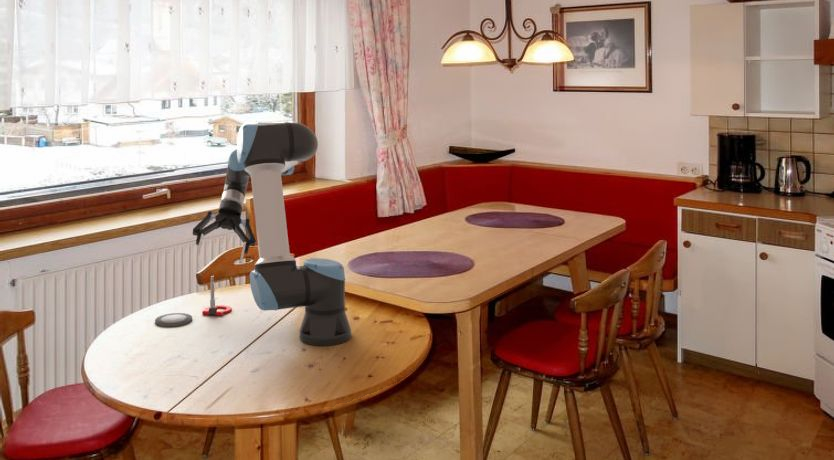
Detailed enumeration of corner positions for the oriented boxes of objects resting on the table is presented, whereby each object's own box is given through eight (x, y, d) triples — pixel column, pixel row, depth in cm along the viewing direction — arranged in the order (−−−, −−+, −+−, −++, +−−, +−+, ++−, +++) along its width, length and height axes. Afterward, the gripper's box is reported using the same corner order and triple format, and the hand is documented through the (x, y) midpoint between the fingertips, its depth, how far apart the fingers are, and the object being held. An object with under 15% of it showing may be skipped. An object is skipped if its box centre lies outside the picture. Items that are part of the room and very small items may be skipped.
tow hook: (211, 307, 246) (199, 315, 237) (210, 269, 244) (198, 276, 235) (235, 309, 245) (224, 317, 236) (235, 271, 243) (223, 277, 234)
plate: (185, 327, 226) (185, 324, 226) (149, 326, 226) (149, 324, 226) (196, 315, 237) (196, 312, 236) (162, 315, 237) (162, 312, 236)
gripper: (266, 220, 257) (257, 269, 243) (193, 205, 251) (179, 256, 238) (269, 206, 251) (260, 256, 238) (194, 191, 246) (180, 242, 232)
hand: (220, 256), depth 238 cm, fingers open, 13 cm apart
